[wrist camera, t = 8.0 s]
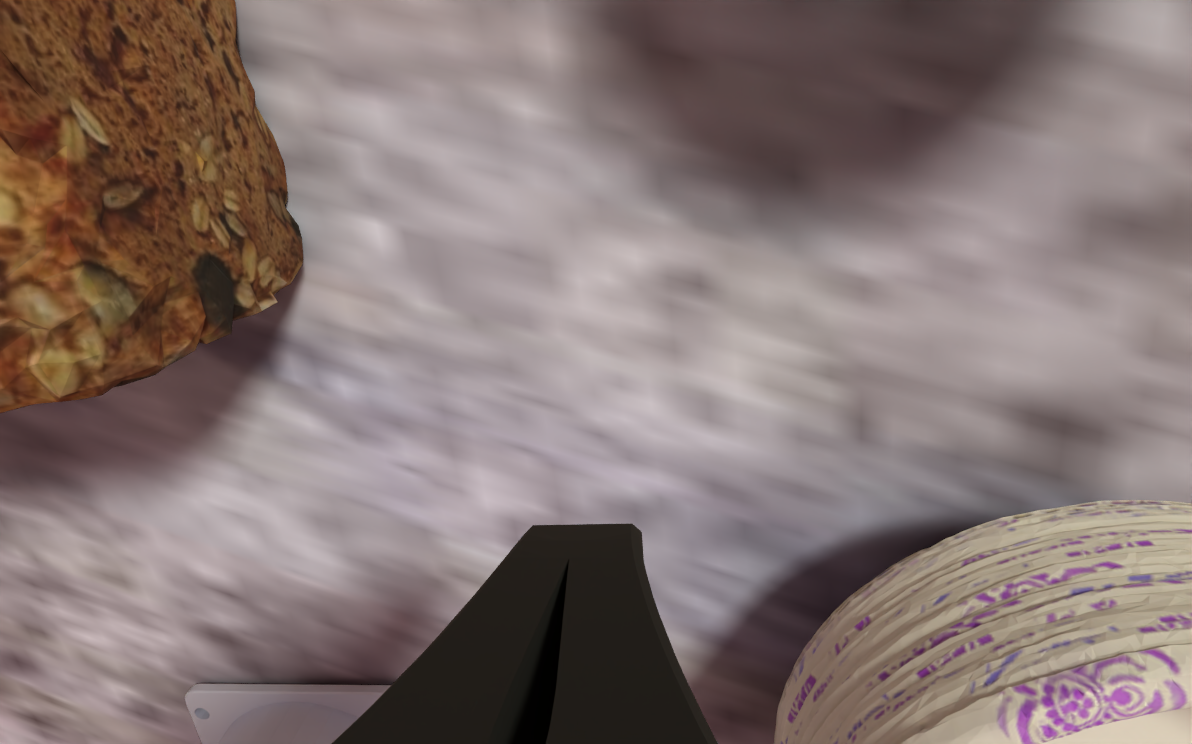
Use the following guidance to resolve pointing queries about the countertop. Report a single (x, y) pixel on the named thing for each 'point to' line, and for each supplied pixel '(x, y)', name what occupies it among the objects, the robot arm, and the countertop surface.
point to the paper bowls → (1012, 637)
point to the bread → (129, 193)
